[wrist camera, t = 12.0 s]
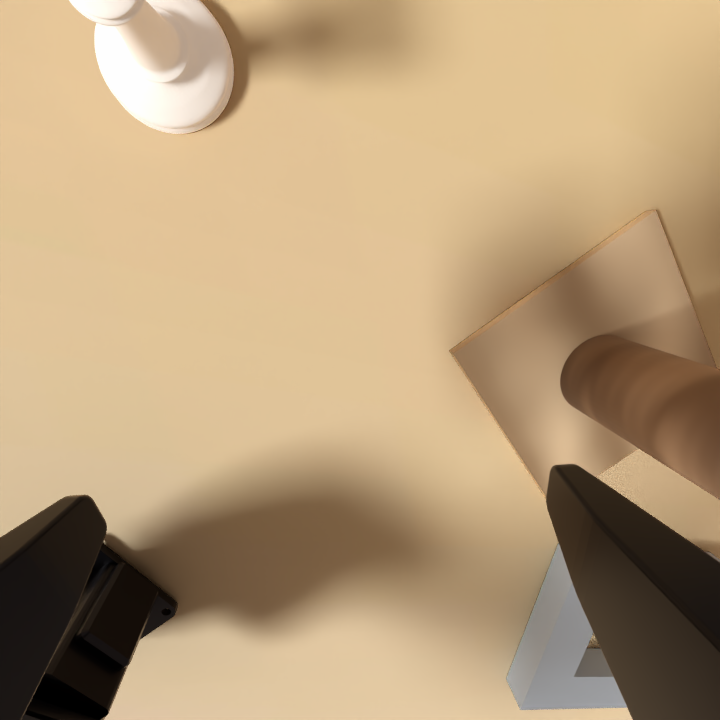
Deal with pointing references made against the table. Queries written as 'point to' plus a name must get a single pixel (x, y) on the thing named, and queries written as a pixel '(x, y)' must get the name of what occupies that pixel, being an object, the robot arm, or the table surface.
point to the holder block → (561, 652)
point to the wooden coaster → (567, 331)
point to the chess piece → (163, 60)
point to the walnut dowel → (650, 403)
